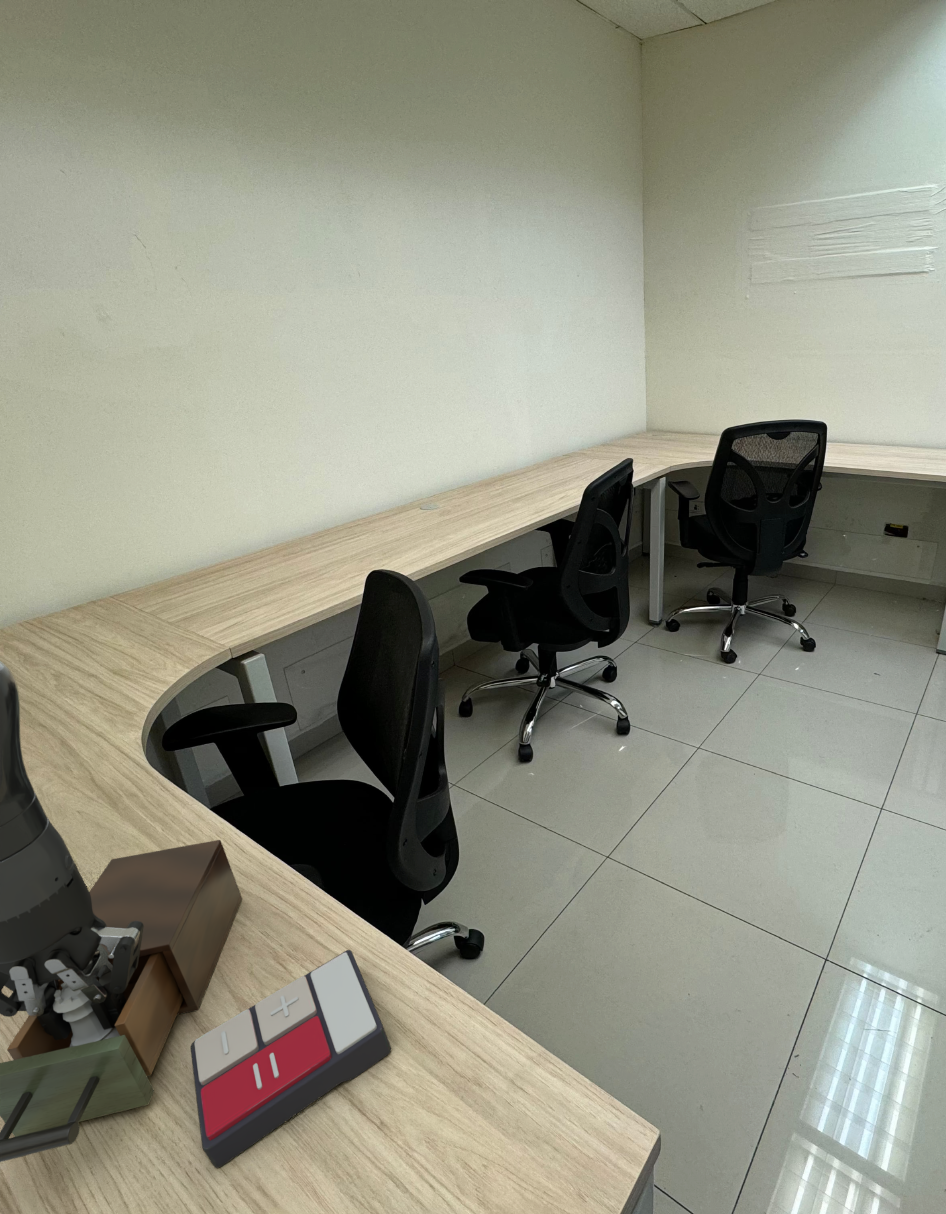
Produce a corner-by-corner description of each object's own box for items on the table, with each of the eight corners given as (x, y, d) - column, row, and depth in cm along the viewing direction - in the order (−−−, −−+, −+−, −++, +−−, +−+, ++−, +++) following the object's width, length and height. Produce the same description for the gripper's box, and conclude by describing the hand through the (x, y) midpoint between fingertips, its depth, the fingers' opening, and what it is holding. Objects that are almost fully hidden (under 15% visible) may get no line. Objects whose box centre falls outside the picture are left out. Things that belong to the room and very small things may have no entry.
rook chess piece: (140, 1038, 59) (111, 980, 56) (84, 1081, 56) (49, 1022, 52) (121, 1013, 61) (92, 956, 58) (66, 1053, 58) (32, 995, 55)
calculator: (186, 1038, 58) (348, 942, 66) (202, 1065, 60) (358, 969, 68) (198, 1147, 50) (382, 1023, 58) (217, 1176, 52) (393, 1051, 59)
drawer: (121, 1169, 51) (86, 1112, 48) (-25, 1208, 49) (-72, 1151, 46) (204, 969, 68) (182, 917, 65) (97, 992, 66) (69, 940, 63)
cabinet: (198, 1010, 64) (168, 944, 61) (72, 1038, 62) (33, 972, 58) (242, 898, 78) (220, 839, 74) (139, 919, 75) (111, 858, 72)
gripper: (-128, 944, 46) (-26, 1088, 52) (87, 903, 48) (159, 1046, 55) (-53, 868, 53) (29, 1004, 59) (133, 836, 55) (191, 970, 62)
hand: (91, 1024), depth 57 cm, fingers closed on rook chess piece, 3 cm apart
